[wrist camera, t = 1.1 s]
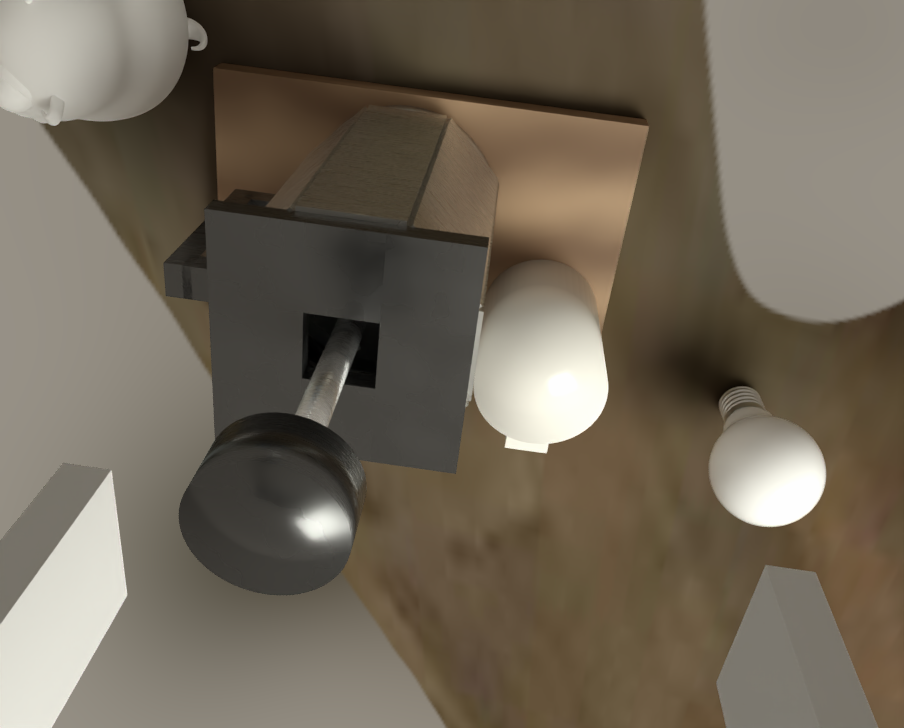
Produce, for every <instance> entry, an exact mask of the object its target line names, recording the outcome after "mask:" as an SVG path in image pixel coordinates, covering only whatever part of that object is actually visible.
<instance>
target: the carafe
mask: <svg viewBox="0 0 904 728" xmlns="http://www.w3.org/2000/svg"><path fill="white" fill-rule="evenodd" d="M498 191H499V183H498V177H497V176H496V175H495V174H494V172H493V171H492V170H491V168H490V167H489V164H488V162H487V160H486V158H485V156H484V154H483V153H482V151H481V150H480V148H479V147H478V145H477V144H476V143H475V141H474V140H473V139H472V138H471V137H470V136H469V135H468V134H467V133H466V132H465V131H464V130H463V129H462V128H460V127H459V126H458V125H457V124H456V123H455V122H454V121H453V119H452V118H450V119H448V118H447V115H441V114H438V113H436V112H433V111H430V110H427V109H424V108H420V107H415V106H408V105H389V106H374V105H369V107H368V108H367V107H366V106H365V107H364V108H363V109H361V110H360V111H359V112H358V113H357V114H356V115H354V116H353V117H352V118H350V119H349V120H348V121H346V122H345V123H343V124H342V125H341V126H340V127H339V128H338V129H337V130H336V131H335V132H334V133H333V134H332V135H331V136H329V137H328V138H327V139H326V140H325V141H324V142H322V143H321V144H320V145H319V146H318V147H316V148H315V149H314V150H313V151H312V152H310V153H309V155H308V156H307V157H306V158H305V160H304V161H303V162H302V163H301V164H300V166H299V167H298V168H297V169H296V170H295V172H294V173H293V174H292V175H291V176H290V178H289V179H288V180H287V181H286V182H285V184H284V185H283V186H282V187H281V189H280V190H279V191H278V192H277V193H276V194H271V193H264V192H256V191H249V190H242V189H235V190H234V191H233V192H232V193H231V194H230V195H229V196H228V197H227V198H226V199H225V200H224V201H220V200H213V201H212V202H211V203H210V204H209V205H208V206H207V207H206V208H205V209H204V212H205V221H204V222H203V223H202V224H201V225H200V226H199V227H198V228H197V229H196V230H195V231H194V232H193V233H192V234H191V235H190V236H189V237H188V238H187V239H186V240H185V241H184V242H183V243H182V244H181V245H180V246H179V247H178V248H177V250H176V251H175V252H174V253H173V254H172V255H171V256H170V257H169V258H168V259H167V260H166V261H165V262H164V277H165V290H166V296H170V297H177V298H184V299H191V300H199V301H206V302H209V319H210V341H211V362H212V383H213V405H214V427H215V439H216V438H217V436H218V435H219V434H220V433H221V432H222V431H223V430H224V429H225V428H226V427H227V426H229V425H230V424H232V423H233V422H235V421H237V420H239V419H241V418H244V417H246V416H250V415H254V414H259V413H268V412H279V413H289V414H294V415H295V413H296V411H297V408H298V406H299V404H300V402H301V400H302V397H303V395H304V393H305V391H306V389H307V386H308V384H309V382H310V380H311V377H312V375H313V373H314V371H315V369H316V366H317V364H318V362H319V360H320V357H321V355H322V353H323V351H324V349H325V346H324V345H322V344H321V343H320V342H318V341H317V340H316V339H314V338H313V337H312V336H311V335H310V334H308V332H309V314H315V315H322V316H330V317H337V318H344V319H351V320H358V321H365V322H373V323H380V331H379V344H378V358H377V361H370V360H362V359H356V358H354V359H353V362H352V364H351V367H350V370H349V372H348V375H347V378H346V380H345V383H344V385H343V388H342V391H341V393H340V396H339V399H338V401H337V404H336V406H335V409H334V412H333V414H332V417H331V420H330V422H329V425H328V427H327V428H329V429H330V430H332V431H333V432H335V433H336V434H338V435H339V436H340V437H341V438H342V439H343V440H344V441H345V442H346V443H347V444H348V445H349V446H350V447H351V448H352V449H353V451H354V452H355V454H356V455H357V457H358V459H359V460H363V461H370V462H377V463H384V464H391V465H398V466H405V467H412V468H419V469H426V470H433V471H440V472H447V473H454V474H456V469H457V462H458V455H459V448H460V441H461V434H462V427H463V420H464V412H465V407H466V406H468V401H471V397H472V390H473V383H474V376H475V369H476V363H477V356H478V349H479V342H480V335H481V328H482V321H483V315H484V307H485V299H486V290H487V282H488V274H489V265H490V257H491V249H492V240H493V232H494V224H495V216H496V207H497V199H498Z"/></svg>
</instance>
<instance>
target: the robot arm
mask: <svg viewBox="0 0 904 728" xmlns="http://www.w3.org/2000/svg"><path fill="white" fill-rule="evenodd" d="M126 597H127V589H126V581H125V573H124V565H123V558H122V549H121V541H120V533H119V525H118V517H117V509H116V501H115V494H114V486H113V478H112V471H111V470H109V469H102V468H95V467H87V466H81V465H74V464H68V463H63V464H62V465H61V466H60V468H59V469H58V470H57V471H56V473H55V474H54V475H53V476H52V477H51V479H50V480H49V481H48V483H47V484H46V485H45V486H44V487H43V489H42V490H41V491H40V492H39V493H38V495H37V496H36V497H35V498H34V500H33V501H32V502H31V503H30V505H29V506H28V507H27V508H26V510H25V511H24V512H23V513H22V515H21V516H20V517H19V518H18V519H17V521H16V522H15V523H14V524H13V526H12V527H11V528H10V529H9V530H8V532H7V533H6V534H5V535H4V537H3V538H2V539H1V540H0V728H52V726H53V724H54V723H55V721H56V719H57V717H58V716H59V714H60V712H61V710H62V709H63V707H64V705H65V703H66V701H67V700H68V698H69V696H70V695H71V693H72V691H73V689H74V688H75V686H76V684H77V682H78V681H79V679H80V677H81V675H82V674H83V672H84V670H85V668H86V667H87V665H88V663H89V661H90V660H91V658H92V656H93V654H94V652H95V651H96V649H97V647H98V646H99V644H100V642H101V640H102V639H103V637H104V635H105V633H106V631H107V630H108V628H109V626H110V625H111V623H112V621H113V619H114V618H115V616H116V614H117V612H118V611H119V609H120V607H121V605H122V604H123V602H124V600H125V598H126ZM716 683H717V688H718V692H719V697H720V701H721V706H722V710H723V714H724V719H725V723H726V728H878V726H877V724H876V721H875V719H874V716H873V714H872V711H871V709H870V706H869V704H868V701H867V699H866V696H865V694H864V691H863V689H862V686H861V684H860V681H859V679H858V676H857V674H856V672H855V669H854V667H853V664H852V662H851V659H850V657H849V654H848V652H847V649H846V647H845V644H844V642H843V639H842V637H841V634H840V632H839V629H838V627H837V624H836V622H835V620H834V617H833V615H832V612H831V610H830V607H829V605H828V602H827V600H826V597H825V595H824V592H823V590H822V587H821V585H820V582H819V580H818V577H817V575H816V572H810V571H803V570H796V569H789V568H782V567H775V566H768V565H766V566H765V568H764V570H763V573H762V575H761V578H760V580H759V582H758V585H757V587H756V589H755V592H754V594H753V597H752V599H751V601H750V604H749V606H748V608H747V611H746V613H745V616H744V618H743V620H742V623H741V625H740V628H739V630H738V632H737V635H736V637H735V639H734V642H733V644H732V647H731V649H730V651H729V654H728V656H727V658H726V661H725V663H724V666H723V668H722V670H721V673H720V675H719V677H718V680H717V682H716Z"/></svg>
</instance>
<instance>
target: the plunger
mask: <svg viewBox="0 0 904 728" xmlns="http://www.w3.org/2000/svg"><path fill="white" fill-rule="evenodd" d="M379 331H380V323H373V322H365V321H358V320H351V319H344V318H337V317H330V316H322V315H315V314H309V332H308V334H310V335H311V336H312V337H313V338H314V339H316V340H317V341H318V342H320V343H321V344H322V345H324V346H325V349H324V351H323V353H322V355H321V357H320V360H319V362H318V364H317V366H316V369H315V371H314V373H313V375H312V377H311V380H310V382H309V384H308V386H307V389H306V391H305V393H304V395H303V397H302V400H301V402H300V404H299V406H298V408H297V411H296V413H295V415H294V414H289V413H279V412H268V413H259V414H254V415H250V416H246V417H244V418H241V419H239V420H237V421H235V422H233V423H232V424H230V425H229V426H227V427H226V428H225V429H224V430H223V431H222V432H221V433H220V434H219V435H218V436H217V438H216V439H215V441H214V442H213V444H212V446H211V448H210V450H209V451H208V453H207V455H206V456H205V458H204V460H203V462H202V463H201V465H200V467H199V469H198V470H197V472H196V474H195V475H194V477H193V479H192V481H191V483H190V484H189V486H188V488H187V489H186V491H185V493H184V495H183V497H182V500H181V503H180V508H179V523H180V529H181V532H182V535H183V537H184V539H185V542H186V544H187V546H188V547H189V549H190V550H191V552H192V553H193V554H194V555H195V556H196V558H197V559H198V560H199V561H200V562H201V563H202V564H203V565H204V566H205V567H206V568H207V569H209V570H210V571H211V572H213V573H214V574H215V575H217V576H218V577H220V578H222V579H224V580H225V581H227V582H229V583H231V584H233V585H235V586H238V587H240V588H243V589H247V590H249V591H253V592H257V593H262V594H269V595H294V594H301V593H305V592H309V591H312V590H315V589H317V588H320V587H322V586H324V585H325V584H327V583H328V582H330V581H331V580H332V579H334V578H335V577H336V576H337V575H338V574H339V573H340V572H341V571H342V569H343V568H344V566H345V564H346V563H347V561H348V558H349V555H350V552H351V549H352V545H353V541H354V538H355V534H356V530H357V527H358V523H359V520H360V516H361V512H362V509H363V505H364V501H365V497H366V477H365V473H364V470H363V467H362V465H361V463H360V461H359V459H358V457H357V455H356V454H355V452H354V451H353V449H352V448H351V447H350V446H349V445H348V444H347V443H346V442H345V441H344V440H343V439H342V438H341V437H340V436H339V435H338V434H336V433H335V432H333V431H332V430H330V429H329V428H327V427H328V425H329V422H330V420H331V417H332V414H333V412H334V409H335V406H336V404H337V401H338V399H339V396H340V393H341V391H342V388H343V385H344V383H345V380H346V378H347V375H348V372H349V370H350V367H351V364H352V362H353V359H354V358H356V359H362V360H370V361H377V358H378V344H379Z"/></svg>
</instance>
